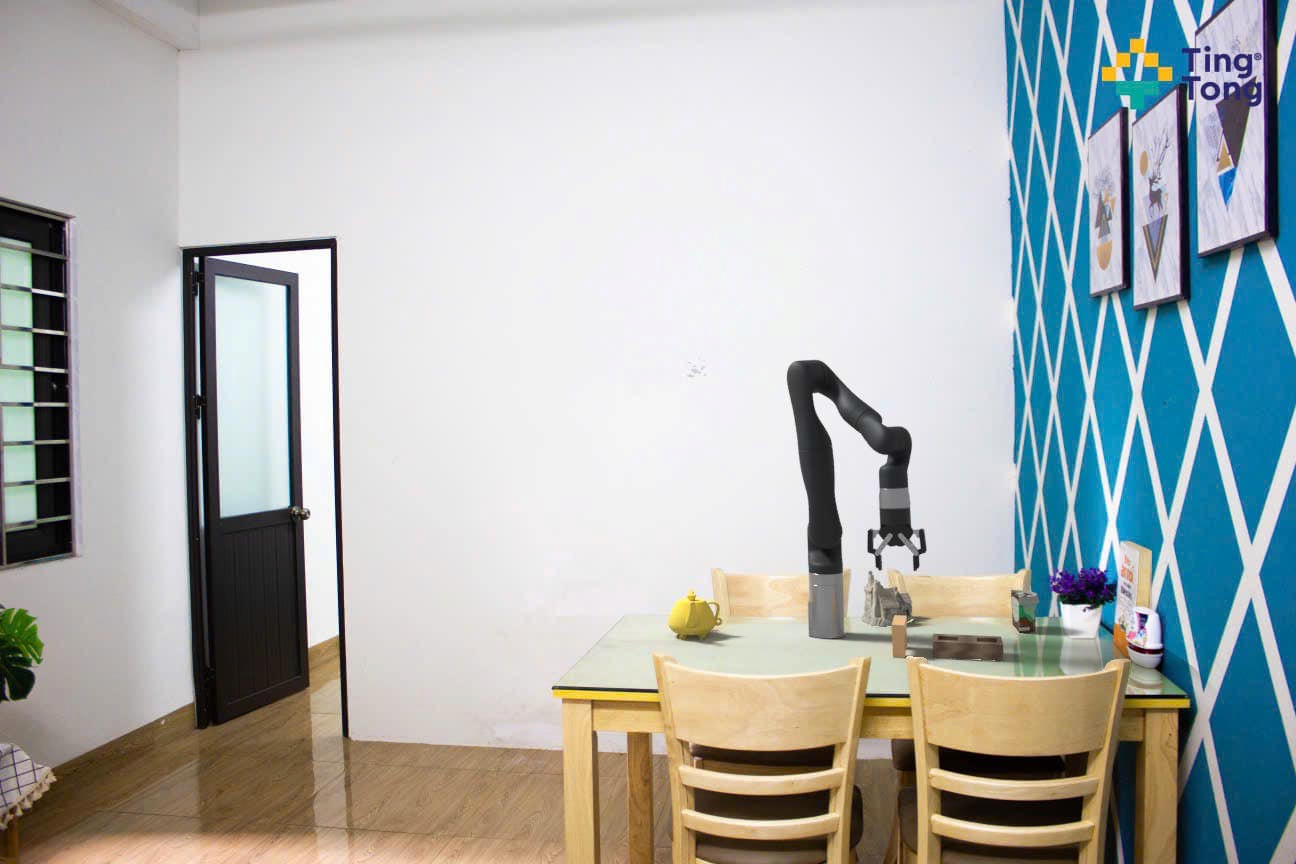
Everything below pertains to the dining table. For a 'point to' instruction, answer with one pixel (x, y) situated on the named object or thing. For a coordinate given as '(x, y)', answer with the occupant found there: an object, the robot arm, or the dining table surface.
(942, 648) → the brown slotted wooden block
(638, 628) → the dining table surface
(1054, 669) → the dining table surface
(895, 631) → the tan u-shaped block
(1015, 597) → the food container
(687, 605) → the teapot
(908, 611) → the ceramic cottage
